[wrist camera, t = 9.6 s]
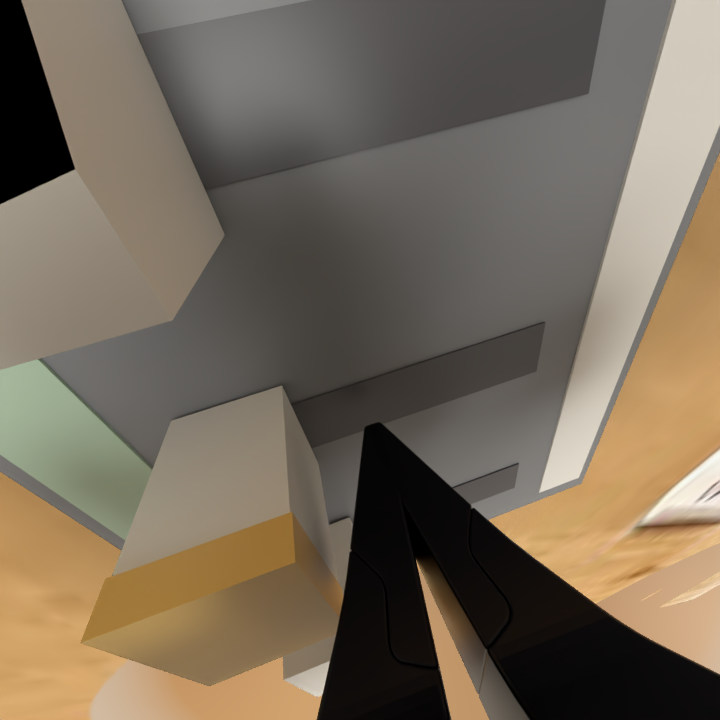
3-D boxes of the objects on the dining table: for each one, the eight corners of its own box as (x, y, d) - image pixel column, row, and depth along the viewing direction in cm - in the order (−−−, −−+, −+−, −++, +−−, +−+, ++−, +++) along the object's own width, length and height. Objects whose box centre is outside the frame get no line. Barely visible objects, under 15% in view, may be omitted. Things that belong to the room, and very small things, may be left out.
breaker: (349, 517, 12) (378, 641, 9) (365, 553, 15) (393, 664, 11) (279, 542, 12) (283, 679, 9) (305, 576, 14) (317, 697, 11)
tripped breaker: (283, 383, 8) (295, 562, 4) (320, 464, 10) (349, 629, 7) (168, 420, 8) (80, 643, 4) (230, 495, 10) (208, 686, 6)
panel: (795, -275, 5) (963, -415, 4) (560, 462, 18) (582, 484, 17) (-613, -96, 3) (-1134, -249, 2) (231, 585, 16) (228, 622, 15)
